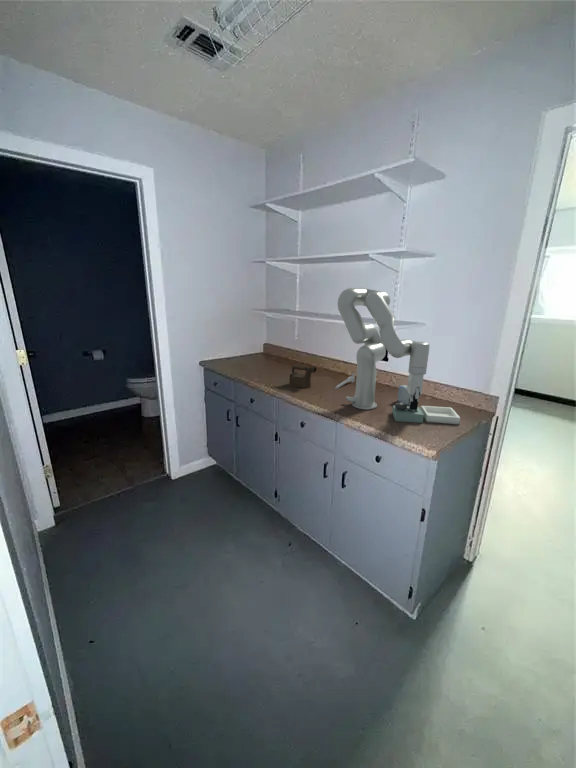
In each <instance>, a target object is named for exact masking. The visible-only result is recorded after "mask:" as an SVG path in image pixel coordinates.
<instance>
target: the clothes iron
mask: <svg viewBox="0 0 576 768" xmlns="http://www.w3.org/2000/svg"><path fill="white" fill-rule="evenodd" d="M291 368H292V370H291V374H289V386H291V387H294V386H295V388H301V387H302V388H303V389H307V388H311V385H312V384H311V377H312V373H314V374H315V373H316V372H317V366H309V367H308V366H302V365H295V364H293V365H292V366H291ZM295 370H298V371H305V374H303V373H298V372H297V371H295ZM302 388H301V389H302Z"/></svg>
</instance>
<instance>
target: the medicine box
mask: <svg viewBox="0 0 576 768" xmlns="http://www.w3.org/2000/svg"><path fill="white" fill-rule="evenodd" d="M397 391H398V392H397V402H398V403H405V404H407V406H408V404H409V396H410V394H409V393H408V391H407V384H404V385H399V386H398V390H397Z"/></svg>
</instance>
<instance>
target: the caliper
mask: <svg viewBox="0 0 576 768" xmlns="http://www.w3.org/2000/svg"><path fill="white" fill-rule="evenodd" d="M355 378H356V377H355V374H354V373H353V372H352V373H351V375H350V376H348V377H347V378H346V379H345V380H343V381H342V382H341V383H338V384H337V385H336V386H335V387H334V389H335V390H336V389H337V390H338V389H340V388H341V387H342V386H344V385H346V383H351V384H352V383H355Z"/></svg>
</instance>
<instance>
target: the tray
mask: <svg viewBox="0 0 576 768" xmlns="http://www.w3.org/2000/svg"><path fill="white" fill-rule="evenodd" d="M420 409H421V411H422V413H423V414H424V416H423V420H425V422H426V423H433V424H436V423H437V424H447V425H448V424H449V425H460V422H461V417H460V415H459V414H458V413H457V412H456V411H455V409H453V408H452V407H450V406H449V407H448V406H447V407H446V406H445V407H444V406H434V405H433V406H432V405H421V406H420Z"/></svg>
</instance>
